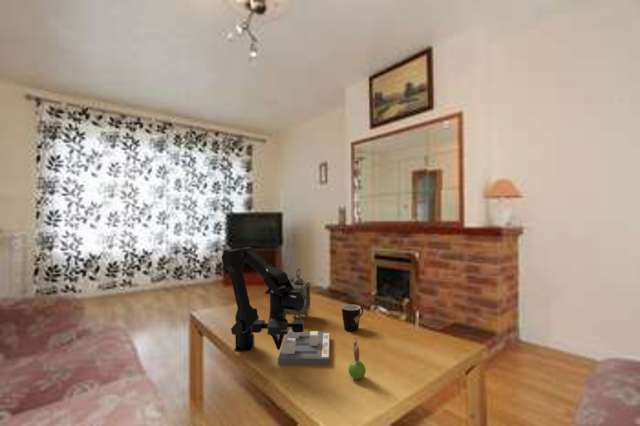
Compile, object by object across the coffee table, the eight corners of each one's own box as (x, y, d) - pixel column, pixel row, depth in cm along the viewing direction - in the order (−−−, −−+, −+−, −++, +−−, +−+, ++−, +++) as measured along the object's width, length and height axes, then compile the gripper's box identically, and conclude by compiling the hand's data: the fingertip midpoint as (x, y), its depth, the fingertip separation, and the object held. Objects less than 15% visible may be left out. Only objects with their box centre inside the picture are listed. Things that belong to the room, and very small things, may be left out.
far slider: (291, 338, 131) (291, 328, 131) (292, 334, 135) (292, 325, 135) (298, 338, 131) (298, 328, 131) (299, 334, 135) (299, 325, 135)
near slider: (286, 353, 117) (286, 342, 117) (287, 349, 121) (287, 338, 121) (294, 353, 117) (294, 342, 117) (295, 349, 121) (295, 338, 121)
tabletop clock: (303, 324, 155) (302, 271, 155) (285, 323, 157) (284, 271, 157) (310, 314, 170) (309, 266, 169) (293, 313, 171) (292, 266, 171)
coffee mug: (345, 333, 143) (345, 311, 143) (339, 327, 151) (338, 305, 151) (370, 330, 146) (369, 308, 146) (362, 324, 154) (362, 303, 154)
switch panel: (278, 365, 114) (277, 357, 114) (287, 338, 138) (287, 332, 138) (329, 365, 114) (329, 358, 114) (329, 338, 138) (329, 332, 138)
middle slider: (309, 345, 124) (309, 335, 124) (310, 341, 128) (310, 331, 128) (317, 345, 124) (317, 335, 124) (318, 341, 128) (318, 331, 128)
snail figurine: (363, 372, 109) (363, 336, 109) (367, 382, 102) (366, 344, 102) (347, 372, 109) (346, 336, 108) (349, 383, 102) (349, 344, 102)
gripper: (246, 314, 112) (247, 359, 112) (301, 313, 111) (302, 359, 111) (254, 304, 123) (255, 345, 123) (304, 304, 122) (304, 345, 122)
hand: (278, 349), depth 119 cm, fingers closed
